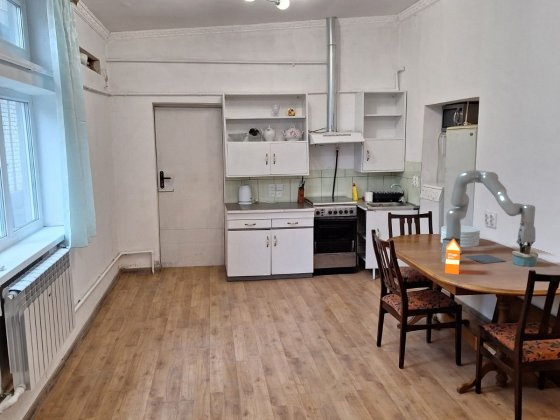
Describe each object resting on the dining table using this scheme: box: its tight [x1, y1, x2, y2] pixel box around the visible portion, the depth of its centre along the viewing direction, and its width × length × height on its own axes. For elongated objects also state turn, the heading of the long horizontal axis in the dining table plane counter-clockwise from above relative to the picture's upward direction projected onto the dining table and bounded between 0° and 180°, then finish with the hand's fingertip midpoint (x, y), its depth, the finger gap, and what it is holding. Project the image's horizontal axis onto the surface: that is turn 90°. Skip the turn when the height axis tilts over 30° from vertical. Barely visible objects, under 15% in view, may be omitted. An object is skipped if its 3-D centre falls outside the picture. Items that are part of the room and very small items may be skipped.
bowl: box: [512, 255, 538, 268], centre depth 292 cm, size 13×13×6 cm
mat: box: [464, 253, 507, 265], centre depth 304 cm, size 18×18×1 cm
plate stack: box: [440, 224, 481, 248], centre depth 352 cm, size 28×28×12 cm
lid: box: [511, 244, 539, 258], centre depth 291 cm, size 15×15×6 cm
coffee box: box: [441, 237, 461, 264], centre depth 296 cm, size 9×6×16 cm
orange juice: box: [444, 239, 461, 275], centre depth 275 cm, size 8×9×20 cm
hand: (525, 251), depth 291 cm, fingers closed on lid, 4 cm apart
